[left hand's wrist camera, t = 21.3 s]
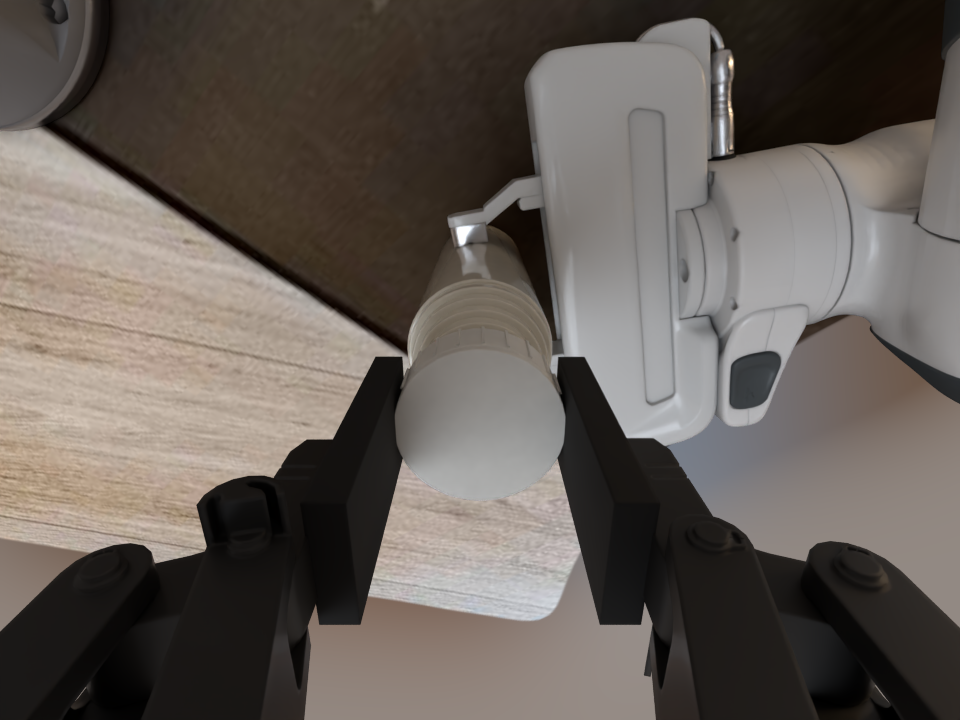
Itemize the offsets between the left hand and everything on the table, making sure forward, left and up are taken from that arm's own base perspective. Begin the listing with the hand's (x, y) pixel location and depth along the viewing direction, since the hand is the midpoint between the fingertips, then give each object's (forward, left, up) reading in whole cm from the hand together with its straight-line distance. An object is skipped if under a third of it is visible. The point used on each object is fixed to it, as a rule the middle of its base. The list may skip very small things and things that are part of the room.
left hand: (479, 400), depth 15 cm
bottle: (0, 0, -19) cm, 19 cm away
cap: (0, 0, +1) cm, 1 cm away
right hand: (-1, 0, -13) cm, 13 cm away
